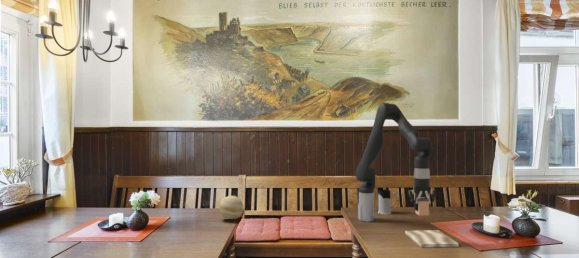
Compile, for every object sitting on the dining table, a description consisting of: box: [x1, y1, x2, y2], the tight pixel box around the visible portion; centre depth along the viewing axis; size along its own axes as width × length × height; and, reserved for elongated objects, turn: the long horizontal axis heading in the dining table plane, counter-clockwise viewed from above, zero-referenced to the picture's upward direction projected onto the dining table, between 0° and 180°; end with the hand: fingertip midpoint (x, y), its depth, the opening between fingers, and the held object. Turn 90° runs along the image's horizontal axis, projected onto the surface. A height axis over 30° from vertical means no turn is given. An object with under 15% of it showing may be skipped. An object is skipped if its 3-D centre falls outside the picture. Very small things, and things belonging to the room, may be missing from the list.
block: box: [414, 197, 430, 216], centre depth 181 cm, size 5×5×8 cm
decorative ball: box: [219, 195, 244, 220], centre depth 225 cm, size 15×15×15 cm
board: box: [404, 229, 460, 249], centre depth 181 cm, size 18×22×2 cm
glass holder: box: [377, 189, 400, 215], centre depth 238 cm, size 9×14×15 cm, turn 96°
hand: (422, 210), depth 181 cm, fingers closed on block, 5 cm apart
